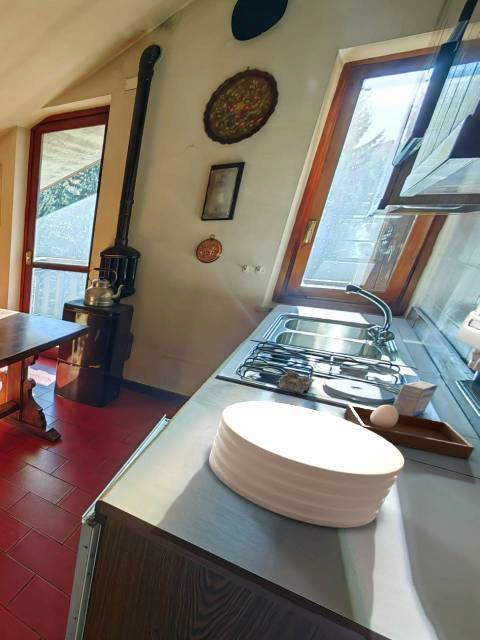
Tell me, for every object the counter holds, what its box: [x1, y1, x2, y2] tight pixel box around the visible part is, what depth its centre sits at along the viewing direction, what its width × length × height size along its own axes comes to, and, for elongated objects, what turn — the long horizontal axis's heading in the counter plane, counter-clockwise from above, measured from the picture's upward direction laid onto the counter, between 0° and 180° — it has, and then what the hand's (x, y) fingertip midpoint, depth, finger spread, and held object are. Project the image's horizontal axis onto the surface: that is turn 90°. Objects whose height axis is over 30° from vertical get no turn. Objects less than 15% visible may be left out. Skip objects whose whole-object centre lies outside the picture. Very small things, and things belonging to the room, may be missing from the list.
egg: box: [370, 404, 398, 429], centre depth 100 cm, size 5×5×7 cm
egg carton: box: [277, 369, 316, 393], centre depth 127 cm, size 11×8×4 cm
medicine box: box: [392, 380, 438, 417], centre depth 110 cm, size 8×4×9 cm, turn 114°
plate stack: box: [208, 401, 405, 529], centre depth 80 cm, size 28×28×12 cm
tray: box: [343, 404, 475, 460], centre depth 99 cm, size 19×14×3 cm
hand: (475, 369), depth 89 cm, fingers closed
